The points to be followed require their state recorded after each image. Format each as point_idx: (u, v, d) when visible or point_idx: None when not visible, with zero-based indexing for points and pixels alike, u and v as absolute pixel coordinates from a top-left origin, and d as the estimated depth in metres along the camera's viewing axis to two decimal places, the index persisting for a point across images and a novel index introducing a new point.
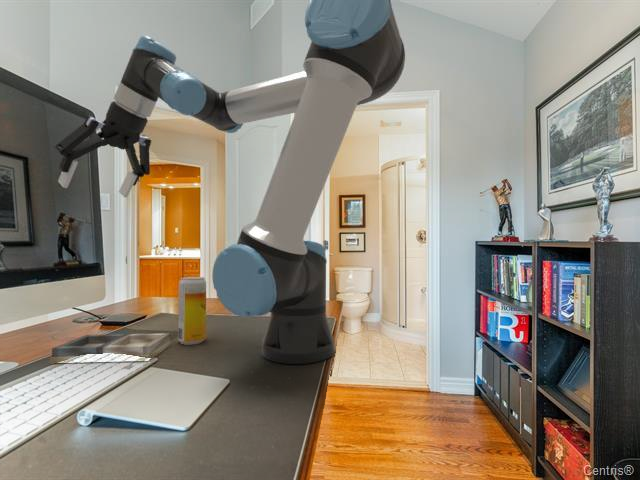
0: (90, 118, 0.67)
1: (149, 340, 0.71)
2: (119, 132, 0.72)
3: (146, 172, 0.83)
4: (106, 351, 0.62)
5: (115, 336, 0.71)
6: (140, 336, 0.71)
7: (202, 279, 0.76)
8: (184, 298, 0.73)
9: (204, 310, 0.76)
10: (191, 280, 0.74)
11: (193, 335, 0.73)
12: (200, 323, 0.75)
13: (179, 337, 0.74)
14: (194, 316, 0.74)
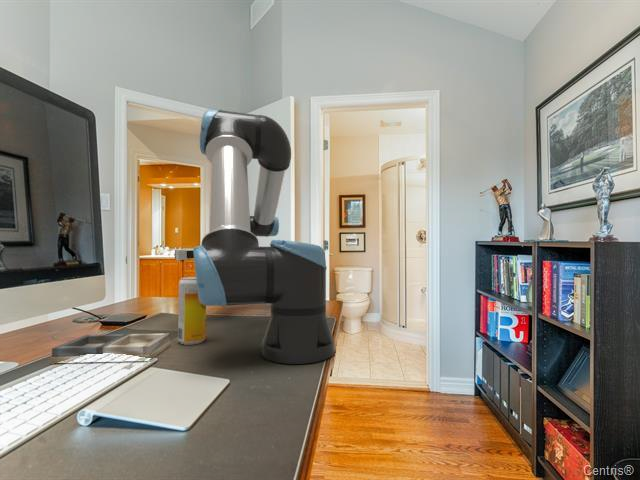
0: None
1: (149, 340, 0.71)
2: None
3: None
4: (106, 351, 0.62)
5: (115, 336, 0.71)
6: (140, 336, 0.71)
7: None
8: (184, 298, 0.73)
9: (204, 310, 0.76)
10: (191, 280, 0.74)
11: (193, 335, 0.73)
12: (200, 323, 0.75)
13: (179, 337, 0.74)
14: (194, 316, 0.74)
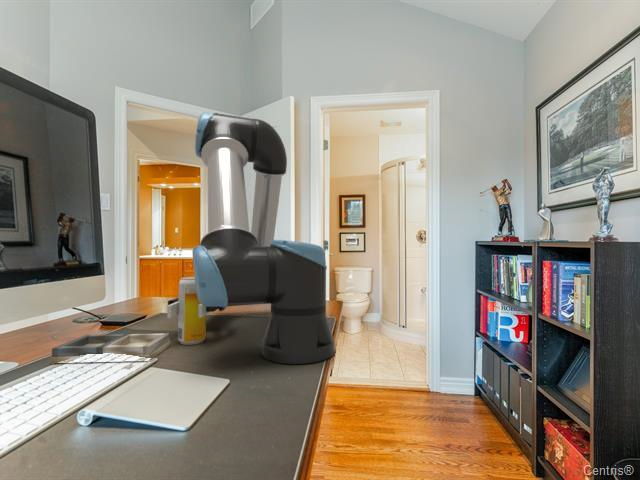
0: None
1: (149, 340, 0.71)
2: None
3: None
4: (106, 351, 0.62)
5: (115, 336, 0.71)
6: (140, 336, 0.71)
7: None
8: (184, 298, 0.73)
9: None
10: (191, 280, 0.74)
11: (193, 335, 0.73)
12: (200, 323, 0.75)
13: (179, 337, 0.74)
14: (194, 316, 0.74)
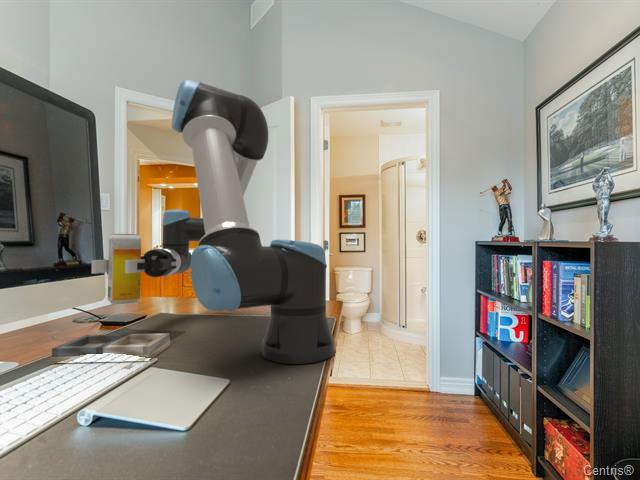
0: None
1: (149, 340, 0.71)
2: None
3: (157, 259, 0.74)
4: (106, 351, 0.62)
5: (115, 336, 0.71)
6: (140, 336, 0.71)
7: (134, 235, 0.71)
8: (113, 254, 0.68)
9: None
10: (121, 235, 0.69)
11: (123, 294, 0.68)
12: (131, 281, 0.70)
13: (108, 296, 0.69)
14: (123, 273, 0.69)
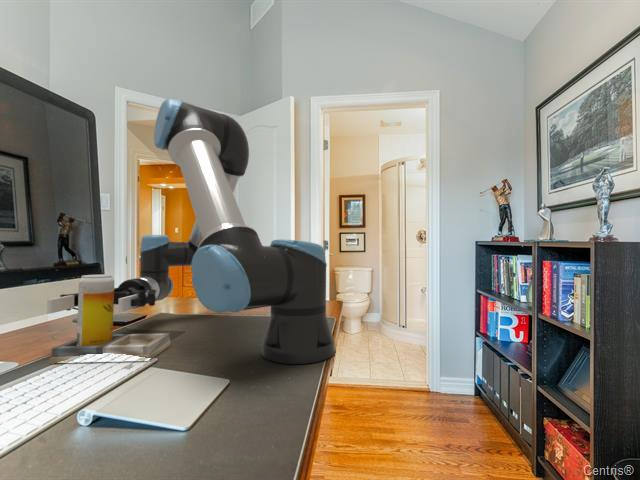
0: None
1: (149, 340, 0.71)
2: (122, 290, 0.80)
3: (150, 294, 0.72)
4: (106, 351, 0.62)
5: (115, 336, 0.71)
6: (140, 336, 0.71)
7: (107, 277, 0.67)
8: (83, 299, 0.64)
9: (109, 312, 0.67)
10: (91, 278, 0.65)
11: (93, 341, 0.64)
12: (103, 327, 0.66)
13: (77, 343, 0.65)
14: (93, 319, 0.64)
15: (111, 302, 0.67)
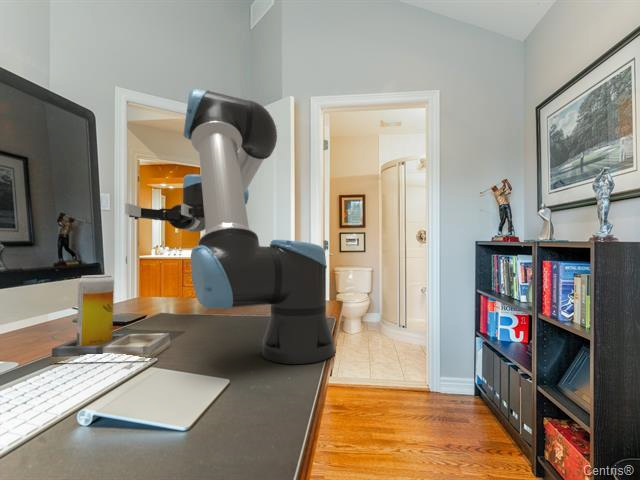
0: None
1: (149, 340, 0.71)
2: None
3: None
4: (106, 351, 0.62)
5: (115, 336, 0.71)
6: (140, 336, 0.71)
7: (106, 277, 0.67)
8: (82, 299, 0.64)
9: (108, 312, 0.67)
10: (91, 278, 0.65)
11: (93, 341, 0.64)
12: (102, 327, 0.66)
13: (77, 343, 0.65)
14: (93, 319, 0.65)
15: (111, 302, 0.68)
